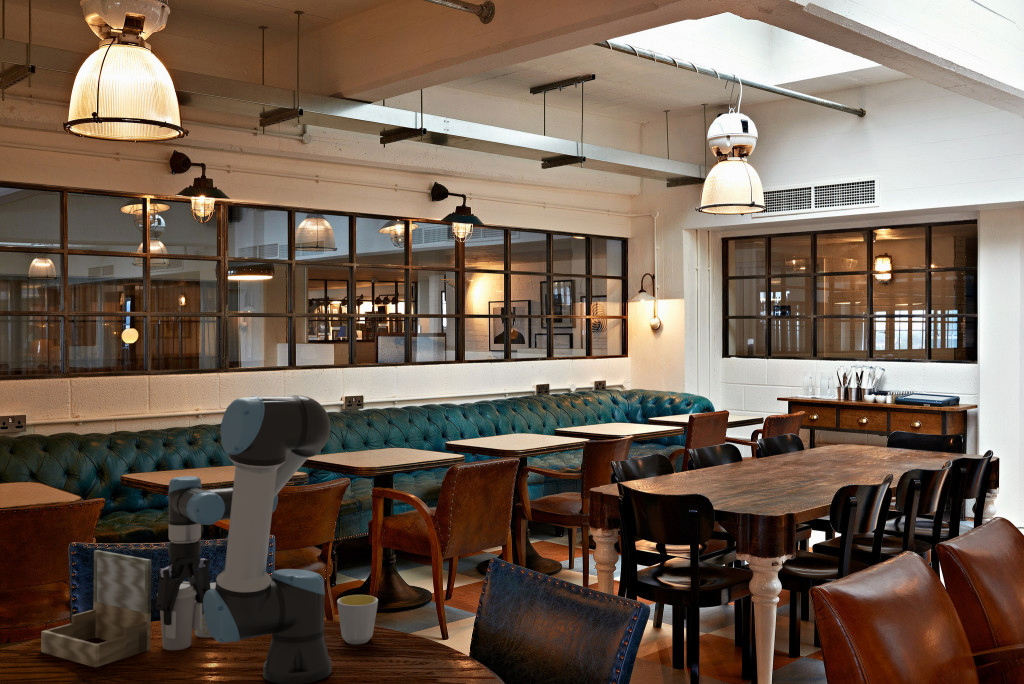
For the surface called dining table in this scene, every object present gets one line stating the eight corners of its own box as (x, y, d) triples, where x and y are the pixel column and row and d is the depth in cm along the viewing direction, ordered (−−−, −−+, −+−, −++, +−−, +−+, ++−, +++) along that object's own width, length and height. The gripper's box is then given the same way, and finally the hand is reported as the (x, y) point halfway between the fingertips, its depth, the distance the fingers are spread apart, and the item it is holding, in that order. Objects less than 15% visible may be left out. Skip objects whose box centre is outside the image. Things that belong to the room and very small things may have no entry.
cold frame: (154, 648, 228) (155, 558, 228) (95, 667, 214) (96, 572, 214) (101, 634, 239) (101, 549, 239) (41, 652, 225) (42, 561, 225)
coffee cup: (178, 637, 237) (179, 579, 237) (205, 643, 232) (206, 583, 232) (147, 648, 228) (148, 587, 228) (175, 654, 224) (175, 592, 224)
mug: (373, 647, 230) (374, 605, 230) (332, 647, 230) (333, 604, 230) (383, 631, 243) (383, 591, 243) (344, 630, 244) (344, 590, 244)
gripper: (206, 531, 239) (206, 620, 239) (139, 545, 221) (138, 641, 221) (227, 534, 235) (226, 624, 235) (160, 549, 217) (159, 647, 217)
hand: (184, 632), depth 228 cm, fingers open, 7 cm apart
